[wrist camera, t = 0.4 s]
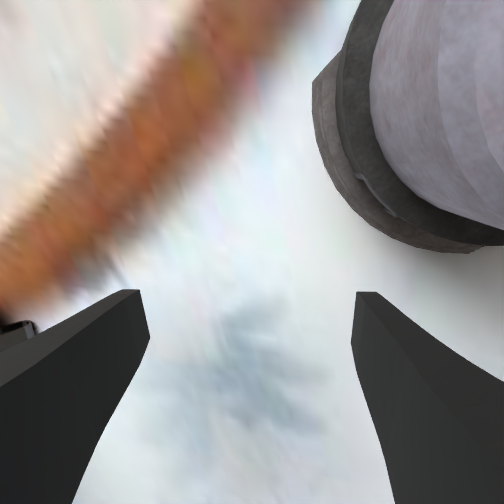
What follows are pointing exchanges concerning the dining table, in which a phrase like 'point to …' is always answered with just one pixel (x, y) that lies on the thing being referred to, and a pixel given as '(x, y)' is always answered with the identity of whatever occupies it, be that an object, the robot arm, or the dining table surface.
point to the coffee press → (15, 334)
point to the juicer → (419, 121)
